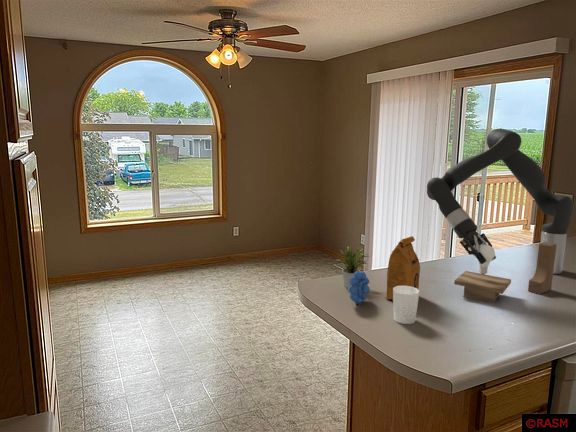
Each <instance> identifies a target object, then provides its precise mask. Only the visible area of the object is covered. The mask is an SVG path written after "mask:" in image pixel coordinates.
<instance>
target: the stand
mask: <svg viewBox="0 0 576 432" xmlns="http://www.w3.org/2000/svg"><path fill="white" fill-rule="evenodd" d="M511 283H512V279H511V278H508V277H507V278H506V277H500V276H495V275H489V274H481V273H480V272H474V271H468V270H465V271H463V272H462V273H461V274H460V275H459V276H458V277H457V278H455V279H454V283H453V284H454V285H455V286H462V287H463V297H464V298H465V297H466V298H470V299H474V300H479V301H483V302H488V303H494V302H496V300H497V299H498V297H499V296H500V295H503V294H504V293H505V291H507V288H509V286H510V285H511Z"/></svg>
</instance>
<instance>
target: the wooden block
mask: <svg viewBox="0 0 576 432" xmlns="http://www.w3.org/2000/svg"><path fill="white" fill-rule="evenodd" d="M556 246H557V245H556V244H553V243H548V242H543V243H541V242H540V243H539V244H538V252H537V257H536V259H537V260H536V265H535V266H536V267H535V268H536V269H535V273H534V274H533V277H532V278H530V279H529V280H528V287H527V291H528V292H529V293H534V294H537V295H541V294H544V293H546V292H548V291H549V292H550V291H551V290H552V286H553V285H552V284H553V278H554V274H553V270H554V262H555V254H556Z"/></svg>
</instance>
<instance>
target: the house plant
mask: <svg viewBox="0 0 576 432" xmlns="http://www.w3.org/2000/svg"><path fill="white" fill-rule="evenodd" d="M360 247H361V245H359V246H358V247H357V248H356V250H355V251H354V253H353V250H352V245H351V244H350V245H347V247H346V248H347V249H346V253H344V251H343V250H341V249H338V250H339V251H340V254H341V255H342V257H343V259H344V260H345V261H344V260H342V259H340V258H338V259H336V261H338V262H340V263H342V270H341V272H342V280H343V284H344V287H345V289H348V287H349V286H351V285H352V284H351V283H350V278H351V277H354V273H355V272H356V271H359V272H361V269H359V268H358V267H362V268H363V269H364V264H365V265H366V264H367V265H368V263H367V262H366V260H363V258H367V257H370V255H369V254H368V253H370V251H368V252H363V250H364V249H365V248H364V247H363V248H360ZM359 249H360V250H359ZM362 252H363V253H362ZM361 259H362V260H361Z"/></svg>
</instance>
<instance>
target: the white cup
mask: <svg viewBox="0 0 576 432" xmlns="http://www.w3.org/2000/svg"><path fill="white" fill-rule="evenodd" d="M419 297H420V289H419V290H418V289H417V288H414V287H411V286H396V287H394V288H393V300H392V311H393V318H392V319H393V320H394V321H395V322H396V323H399V324H403V325H411V324H415V322H416V321H417V312H418V306H419V299H420V298H419Z"/></svg>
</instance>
